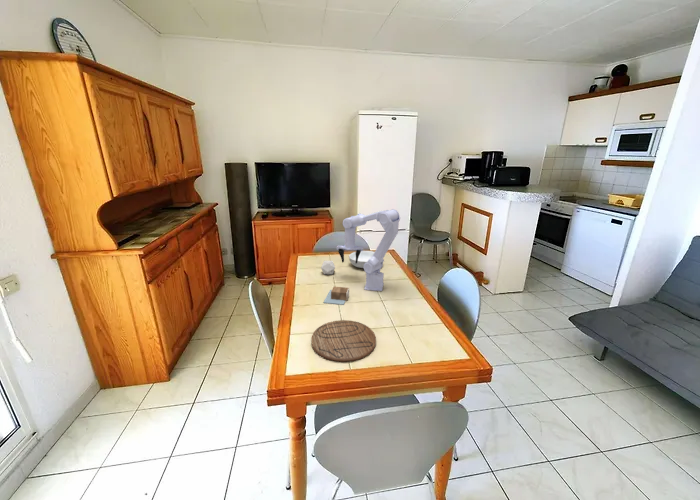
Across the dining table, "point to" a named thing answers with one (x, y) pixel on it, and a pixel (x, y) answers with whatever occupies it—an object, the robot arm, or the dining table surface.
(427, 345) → the dining table surface
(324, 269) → the die
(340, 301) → the mat
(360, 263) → the serving bowl
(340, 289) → the block
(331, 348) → the trivet
